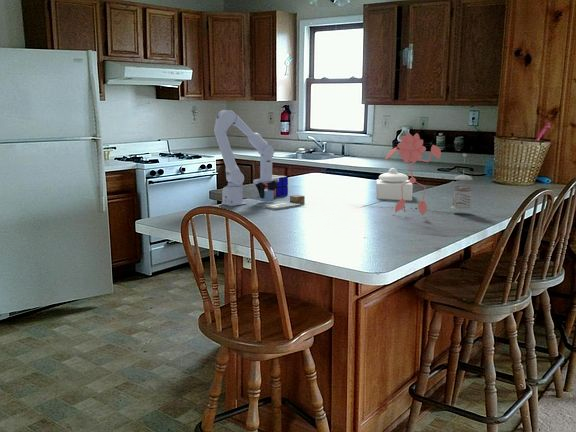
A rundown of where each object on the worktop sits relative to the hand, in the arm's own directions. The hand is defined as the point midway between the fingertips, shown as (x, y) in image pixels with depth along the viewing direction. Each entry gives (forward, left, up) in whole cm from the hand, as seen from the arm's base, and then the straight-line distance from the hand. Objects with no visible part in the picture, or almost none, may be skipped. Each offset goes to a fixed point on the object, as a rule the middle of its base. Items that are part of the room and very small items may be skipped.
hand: (266, 197), depth 280 cm
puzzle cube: (+20, +17, -3) cm, 26 cm away
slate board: (-2, -11, -3) cm, 11 cm away
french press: (+58, -70, -3) cm, 91 cm away
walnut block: (+10, -11, -3) cm, 15 cm away
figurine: (+25, -65, -3) cm, 70 cm away
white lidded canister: (+57, -32, -3) cm, 66 cm away
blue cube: (0, 0, -1) cm, 1 cm away
